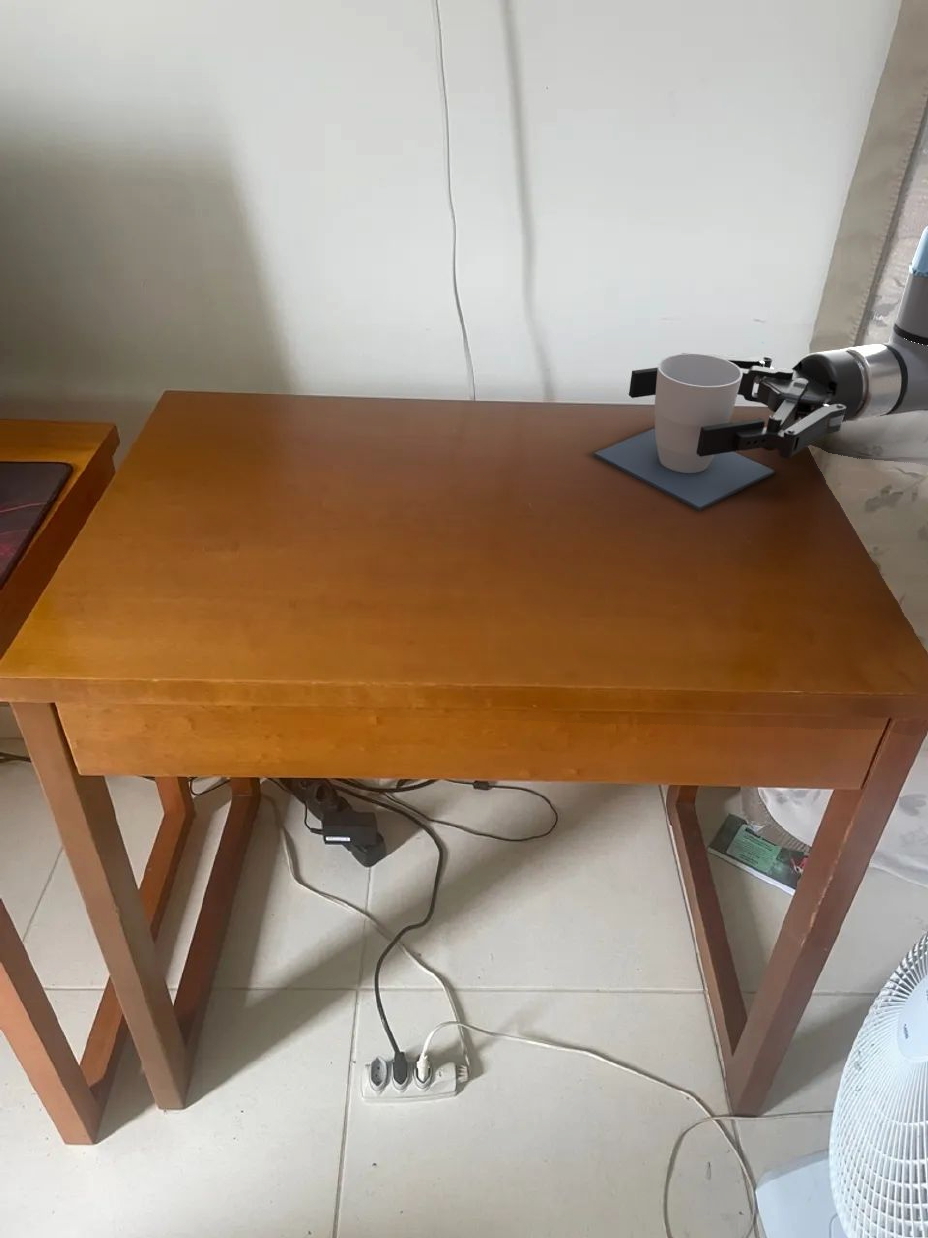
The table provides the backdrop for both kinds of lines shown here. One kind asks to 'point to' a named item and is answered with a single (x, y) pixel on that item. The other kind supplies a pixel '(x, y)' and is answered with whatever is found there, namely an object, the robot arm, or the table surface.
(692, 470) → the cup
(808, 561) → the table surface
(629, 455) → the mat
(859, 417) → the robot arm
